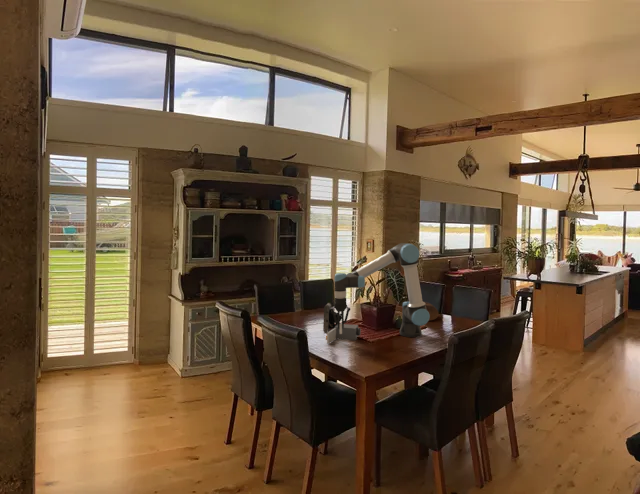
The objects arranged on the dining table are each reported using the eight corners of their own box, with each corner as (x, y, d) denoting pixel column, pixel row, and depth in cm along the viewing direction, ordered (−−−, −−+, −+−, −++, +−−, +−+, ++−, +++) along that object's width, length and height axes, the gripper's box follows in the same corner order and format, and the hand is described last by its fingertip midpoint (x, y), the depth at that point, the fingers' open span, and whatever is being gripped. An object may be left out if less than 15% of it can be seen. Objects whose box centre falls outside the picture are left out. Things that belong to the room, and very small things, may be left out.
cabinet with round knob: (360, 337, 289) (361, 324, 288) (358, 340, 280) (358, 327, 279) (337, 335, 293) (337, 322, 292) (334, 338, 284) (335, 325, 284)
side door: (328, 343, 271) (328, 332, 270) (325, 343, 272) (325, 332, 271) (336, 338, 284) (336, 327, 283) (333, 338, 284) (333, 327, 284)
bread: (441, 321, 334) (442, 305, 333) (407, 321, 335) (407, 304, 334) (433, 314, 360) (434, 299, 359) (401, 314, 361) (402, 298, 360)
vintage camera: (344, 334, 296) (346, 306, 295) (322, 332, 299) (324, 304, 298) (346, 331, 305) (347, 304, 304) (325, 329, 308) (326, 302, 307)
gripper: (350, 296, 278) (350, 331, 280) (330, 296, 278) (330, 331, 280) (351, 298, 270) (351, 334, 272) (330, 298, 270) (330, 335, 272)
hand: (340, 333), depth 276 cm, fingers closed
